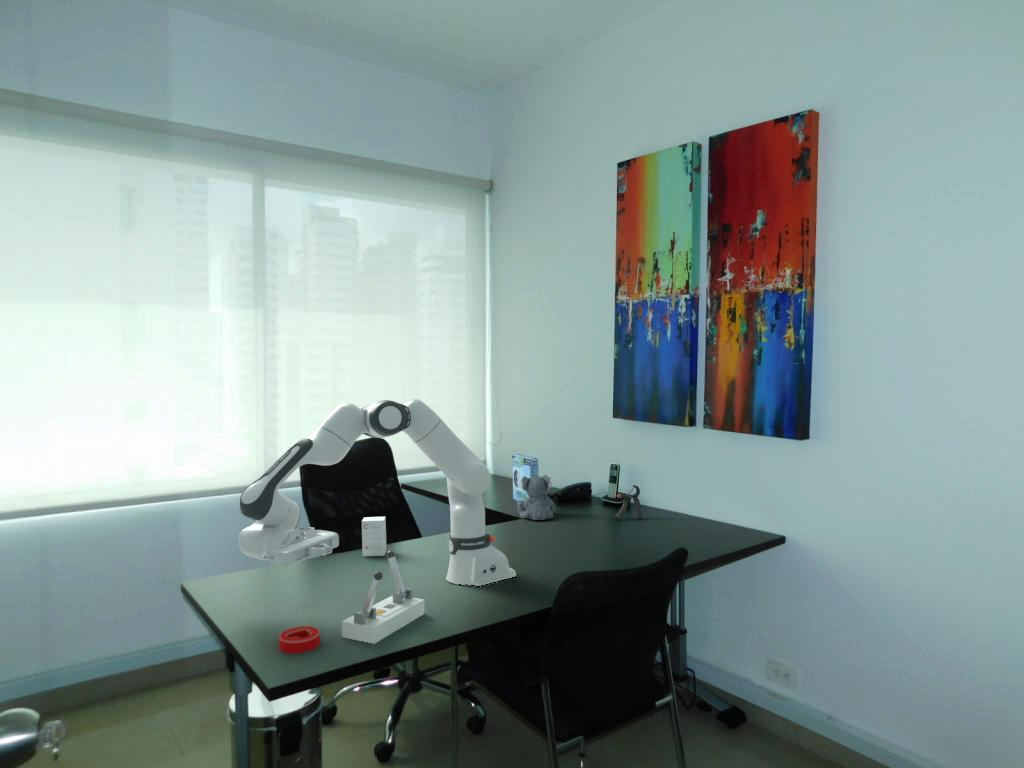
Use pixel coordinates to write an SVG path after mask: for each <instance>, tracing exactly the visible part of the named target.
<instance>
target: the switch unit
mask: <svg viewBox="0 0 1024 768" xmlns="http://www.w3.org/2000/svg"><path fill="white" fill-rule="evenodd" d="M404 588H405V590H407V591H408V592H409V596H408V597H406V598H404V599H403V594H400V593H398V592H393V593H392V595H390V596H389V597H386V598H385V599H382V600H381V601H379V602H377V603H375V604H373V605H372V608H371V611H372V615H371V616H370V617H368V618H366V619H365V614H363V613H360V612H362V611H363V610H361V611H359V612H358V611H355V612H354V613H353V615H351V616H349V617H347V618H346V619H344V620H342V621H341V637H342V638H345V639H349V640H353V641H359V642H362V641H363V643H367V642H368V643H367V644H371V643H372V645H375V644H377V643H378V642H380V641H382V640H383V639H385V638H386V637H389V636H390V635H392V634H393V633H395V632H397V631H398V630H401V629H402V628H403V627H405V626H407V625H409V624H410V623H411V622H414V621H416V620H417V619H418V618H420V617H422V616H424V615H425V599H424V598H423V599H422V598H419V597H418V598H417V597H413V588H409V587H408V588H407V587H404Z"/></svg>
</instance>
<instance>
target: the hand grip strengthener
mask: <svg viewBox="0 0 1024 768" xmlns="http://www.w3.org/2000/svg"><path fill="white" fill-rule="evenodd" d="M634 489H635V490H636V491H635V493H634V494H631V493H632V492H633V491H634ZM640 493H641V488H640V487H639V486H638V485H635V484H633V485H632V487H631V488H630V489H629V491H628V492H627V493H626V494H622V493H617V495H616V497H617V498H618V499H622V500H623V502H622V505H621V507H620V509H619V510H618V512H617V513H616V514H615V516H614V518H615V519H616V520H619V519H620V518H621V517H622V516H623V515H624V514H625V512H626V509H627V508H628V505H629V501H630V499H633V503H634V507H635V511H636V516H637V517H636V518H637V520H642V519H643V509H642V505H641V502H640V499H639V498H638V497H639V495H640Z"/></svg>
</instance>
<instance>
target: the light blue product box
mask: <svg viewBox="0 0 1024 768" xmlns="http://www.w3.org/2000/svg"><path fill="white" fill-rule="evenodd" d="M511 458H512V461H511V463H512V465H511V466H512V499H513V500H514V499H515V500H514V501H516V502H518V501H519V500H523V501H525V499H526V498H527V497H529V496H528V495H527V492H526V491H523V489H522V488H521V487H520V481H519V478H520V477H522V476H523V477H524V476H525V477H527V478H530V477H532V476H539V475H540V474H539V471H540V470H539V458H537V457H533V456H529V455H524V454H520V453H519V454H512V455H511ZM539 477H540V476H539Z"/></svg>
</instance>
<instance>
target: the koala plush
mask: <svg viewBox="0 0 1024 768" xmlns="http://www.w3.org/2000/svg"><path fill="white" fill-rule="evenodd" d="M519 481H520V487H521V488H522V489H523V491H526V492H527V495H528V496H529V497H527V498H526V499H525V501H523V500H519V501H516V508H517V509H516V511H517V513H518V515H519V517H521V519H525V518H531V519H530V520H532V519H533V520H532V521H534V520H543V521H545V520H547V519H548V520H551V519H553V518H554V513H555V507H556V505H555V502H554V501H553V500H552V499H551V497H550V496H548V495H547V494H546V492H547V491H549V490H550V489H551V488H552V485H553V482H554V480H553V478H552V476H551V474H549V473H547V474H544V475H542V476H532V477H530V478H527V477H525V476H524V477H523V476H522V477H520V478H519ZM550 518H551V519H550Z"/></svg>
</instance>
